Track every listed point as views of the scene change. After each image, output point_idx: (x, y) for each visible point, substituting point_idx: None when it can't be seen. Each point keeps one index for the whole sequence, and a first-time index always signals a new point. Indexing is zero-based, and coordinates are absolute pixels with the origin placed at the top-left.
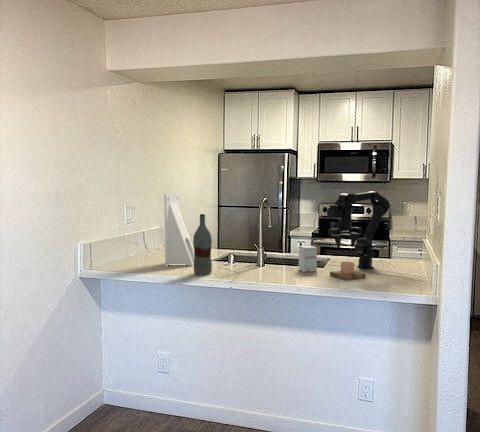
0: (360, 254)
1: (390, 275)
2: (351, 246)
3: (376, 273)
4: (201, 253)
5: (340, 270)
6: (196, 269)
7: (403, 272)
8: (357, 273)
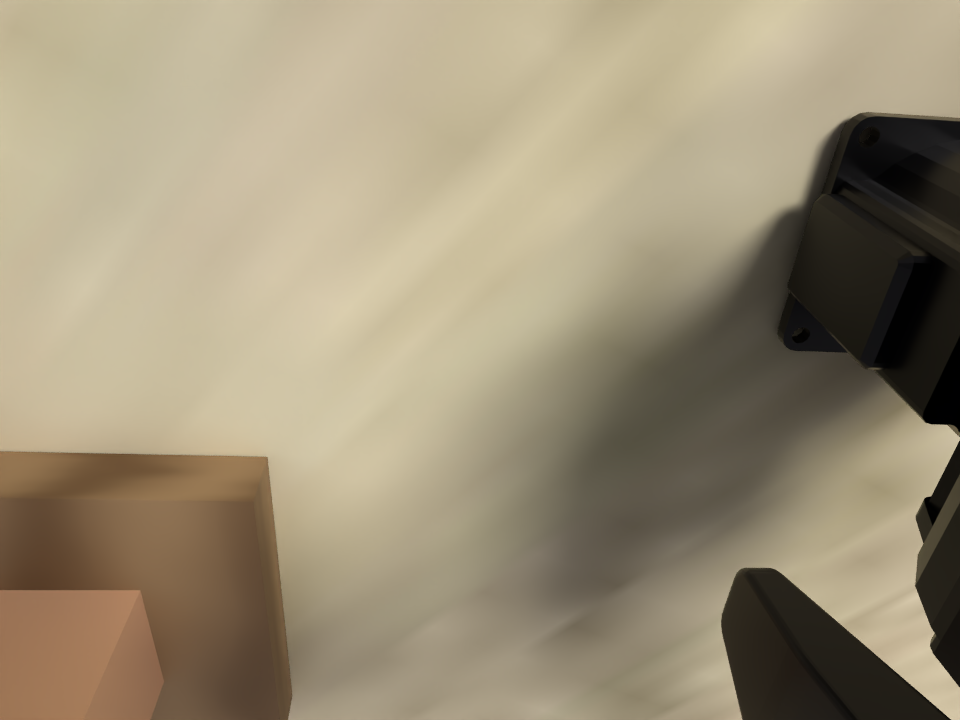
0: None
1: (654, 710)
2: (738, 584)
3: (624, 596)
4: None
5: (51, 501)
6: None
7: (939, 668)
8: (186, 712)
